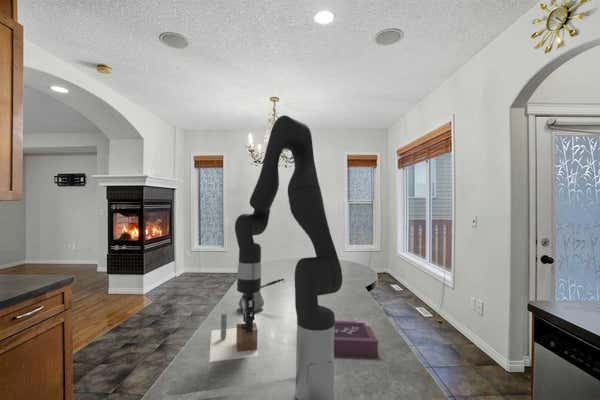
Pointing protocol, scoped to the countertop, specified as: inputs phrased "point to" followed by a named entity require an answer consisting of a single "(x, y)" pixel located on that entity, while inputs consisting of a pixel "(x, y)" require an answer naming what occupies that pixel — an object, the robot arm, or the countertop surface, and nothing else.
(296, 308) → the robot arm
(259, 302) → the coffee pot
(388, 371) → the countertop surface
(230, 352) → the board
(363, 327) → the book
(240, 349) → the brown wooden hollow cube
